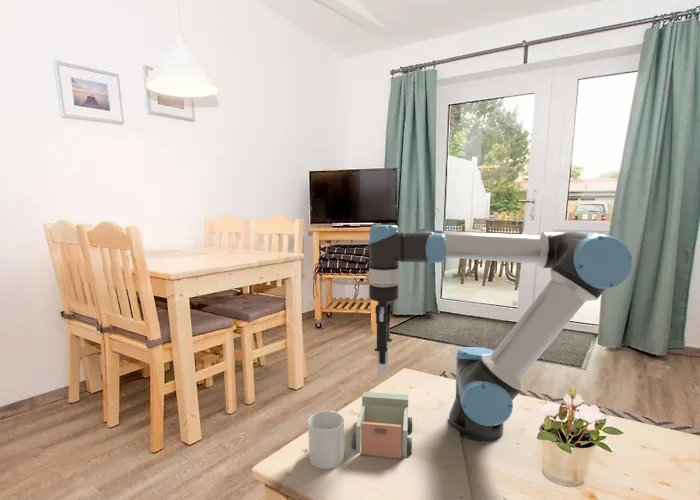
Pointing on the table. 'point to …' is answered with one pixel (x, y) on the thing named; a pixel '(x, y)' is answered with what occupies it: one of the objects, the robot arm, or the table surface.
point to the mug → (326, 439)
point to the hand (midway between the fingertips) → (383, 369)
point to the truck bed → (385, 416)
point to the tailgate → (381, 440)
